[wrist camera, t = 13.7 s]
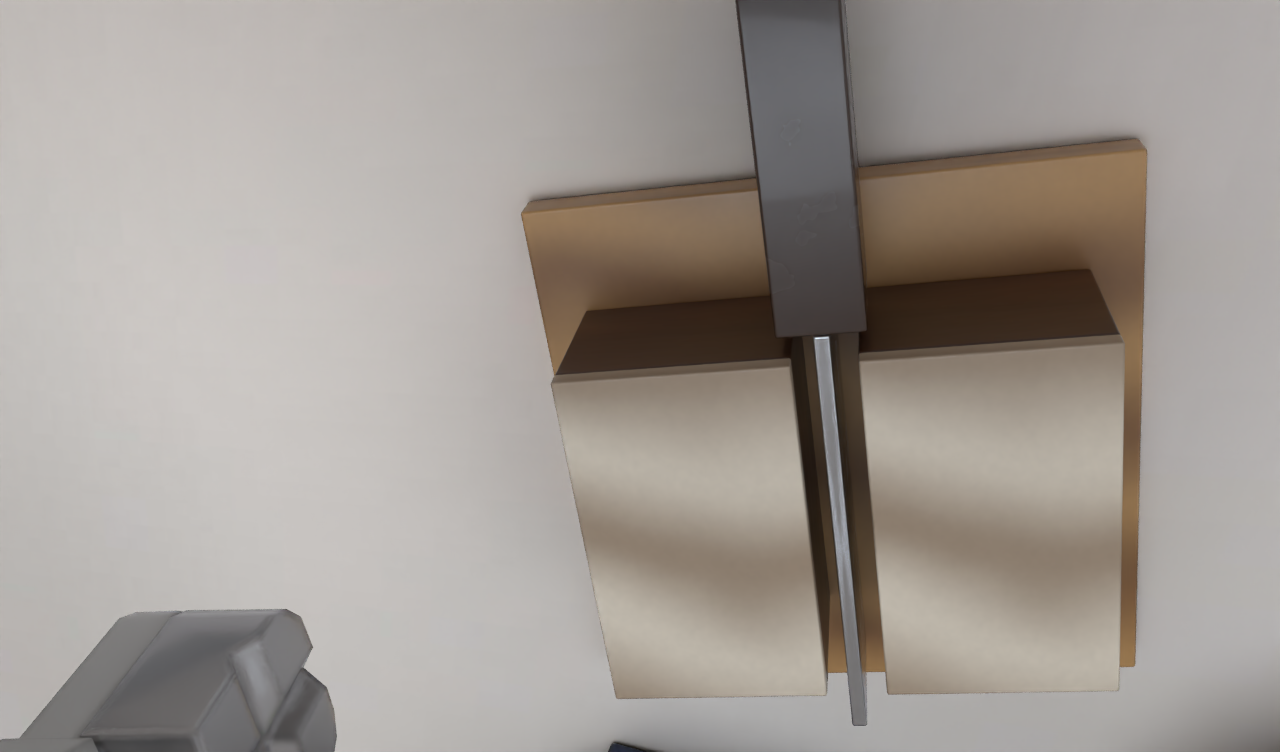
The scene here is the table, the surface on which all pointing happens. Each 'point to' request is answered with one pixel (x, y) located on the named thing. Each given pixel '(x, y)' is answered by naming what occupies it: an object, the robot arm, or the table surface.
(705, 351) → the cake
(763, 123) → the cake knife
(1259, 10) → the table surface
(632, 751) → the small box
